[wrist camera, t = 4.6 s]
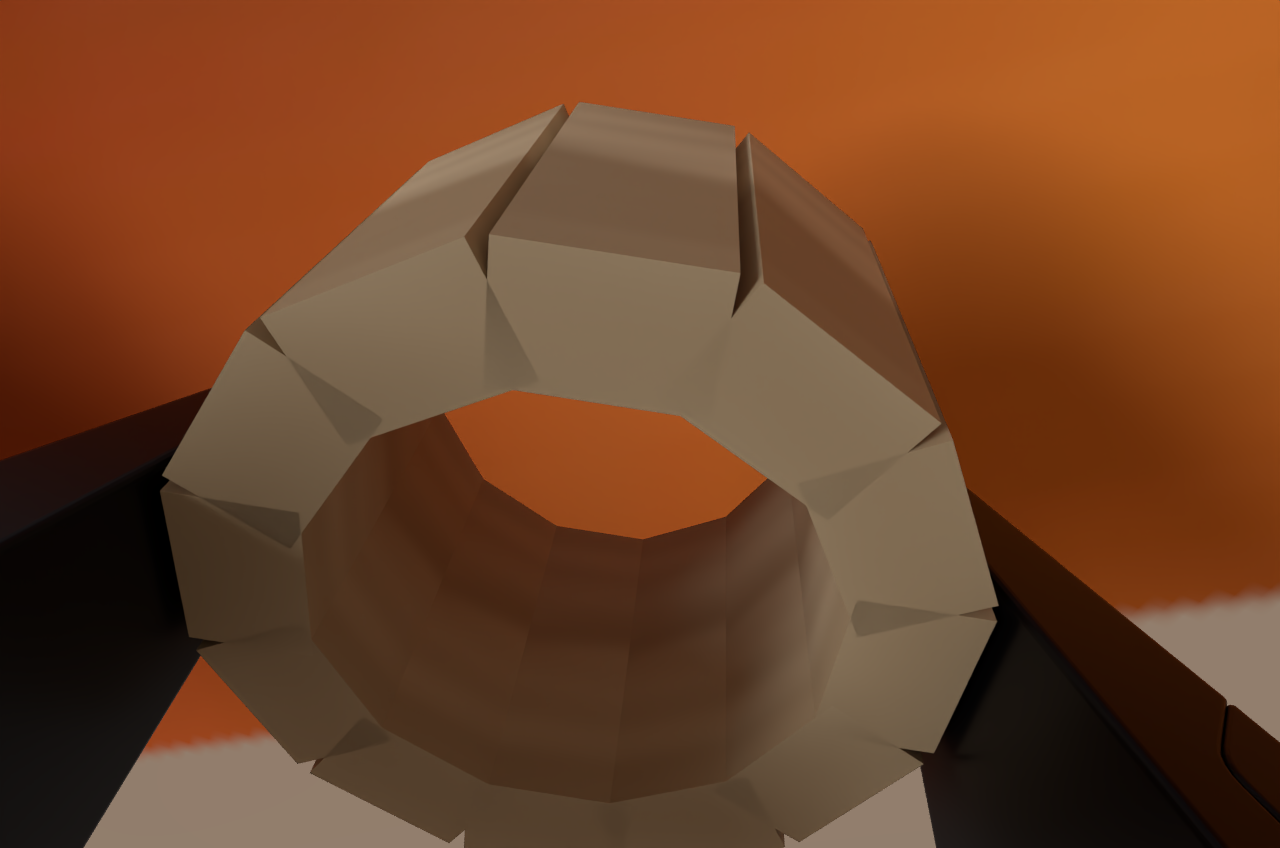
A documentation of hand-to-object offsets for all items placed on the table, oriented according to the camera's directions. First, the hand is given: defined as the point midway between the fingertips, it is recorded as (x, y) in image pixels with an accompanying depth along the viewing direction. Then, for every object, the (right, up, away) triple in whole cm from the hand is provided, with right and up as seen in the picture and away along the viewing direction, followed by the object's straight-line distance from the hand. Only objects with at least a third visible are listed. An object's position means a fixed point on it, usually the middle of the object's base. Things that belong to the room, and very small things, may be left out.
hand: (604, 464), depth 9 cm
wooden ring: (0, +1, +1) cm, 2 cm away
